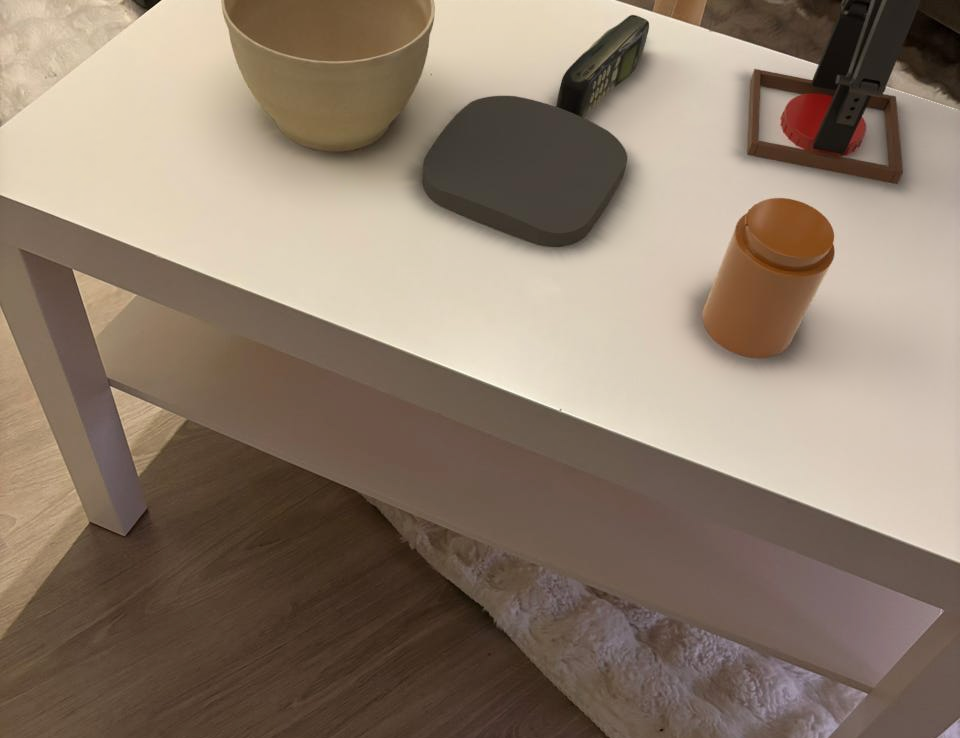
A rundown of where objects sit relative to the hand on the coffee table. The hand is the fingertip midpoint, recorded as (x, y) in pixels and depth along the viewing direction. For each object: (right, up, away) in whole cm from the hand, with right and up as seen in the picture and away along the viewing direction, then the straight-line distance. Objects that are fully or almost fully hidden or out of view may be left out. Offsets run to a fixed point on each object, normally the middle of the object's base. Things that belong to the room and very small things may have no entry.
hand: (827, 116), depth 90 cm
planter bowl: (-43, -2, -3) cm, 43 cm away
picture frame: (0, -1, +2) cm, 2 cm away
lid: (0, 0, +1) cm, 1 cm away
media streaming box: (-27, -8, -5) cm, 29 cm away
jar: (-11, -21, -12) cm, 27 cm away
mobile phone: (-20, +3, +3) cm, 20 cm away
